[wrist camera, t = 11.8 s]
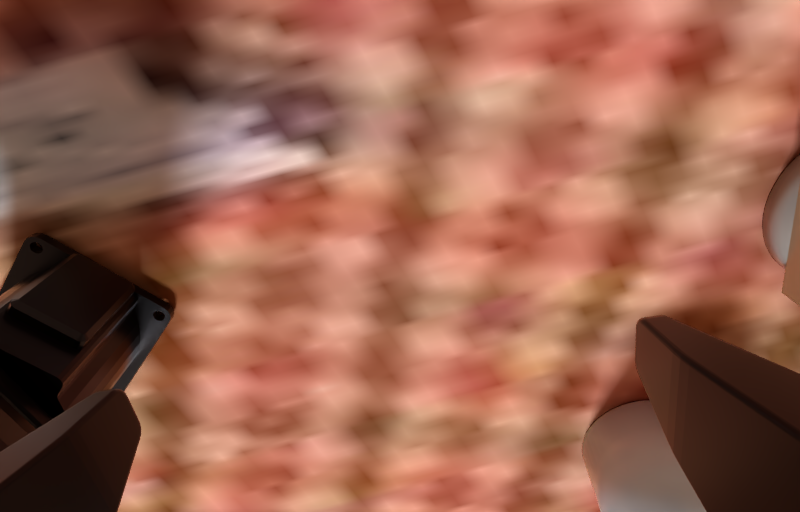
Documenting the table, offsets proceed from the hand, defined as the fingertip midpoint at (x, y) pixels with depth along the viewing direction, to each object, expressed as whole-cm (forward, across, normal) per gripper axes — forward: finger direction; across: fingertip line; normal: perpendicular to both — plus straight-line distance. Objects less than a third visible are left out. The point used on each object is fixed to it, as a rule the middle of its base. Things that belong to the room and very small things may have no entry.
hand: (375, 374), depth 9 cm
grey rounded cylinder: (+13, -10, +16) cm, 23 cm away
